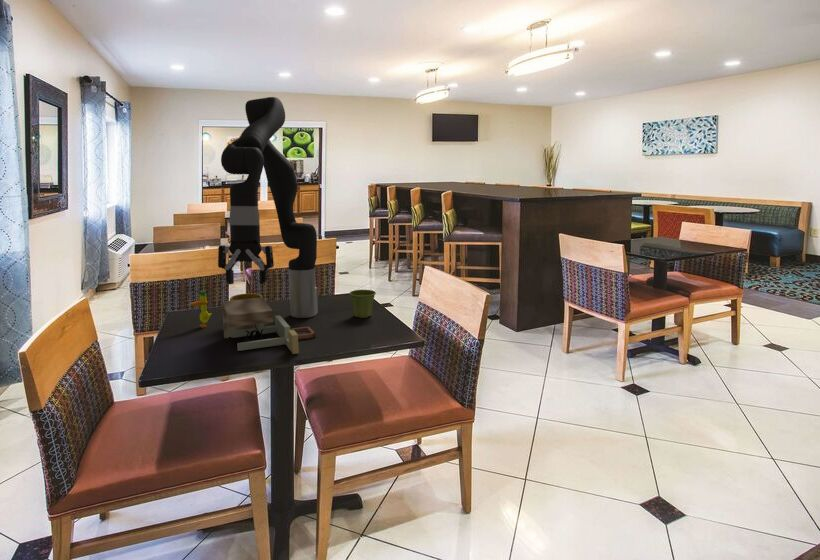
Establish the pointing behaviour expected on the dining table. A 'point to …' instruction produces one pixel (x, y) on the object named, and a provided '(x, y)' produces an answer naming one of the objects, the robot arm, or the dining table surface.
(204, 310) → the toy figure
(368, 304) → the plant pot
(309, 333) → the brown tray
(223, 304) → the tunnel
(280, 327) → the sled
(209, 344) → the dining table surface
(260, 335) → the creature
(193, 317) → the dining table surface
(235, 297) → the plant pot
